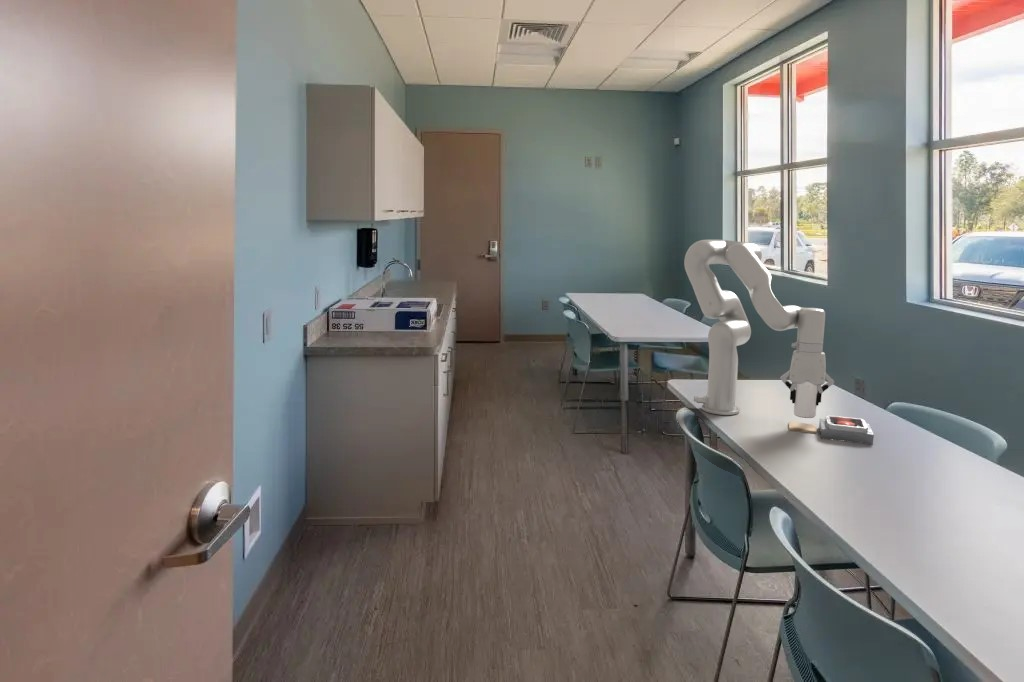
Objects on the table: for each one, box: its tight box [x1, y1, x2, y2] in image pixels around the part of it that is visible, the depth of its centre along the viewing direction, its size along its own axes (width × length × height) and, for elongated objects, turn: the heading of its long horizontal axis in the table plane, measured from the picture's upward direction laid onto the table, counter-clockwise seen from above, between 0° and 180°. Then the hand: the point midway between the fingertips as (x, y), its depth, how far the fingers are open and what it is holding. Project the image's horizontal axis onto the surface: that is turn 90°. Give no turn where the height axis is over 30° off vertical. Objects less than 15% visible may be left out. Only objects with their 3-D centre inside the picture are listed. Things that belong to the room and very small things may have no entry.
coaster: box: [788, 421, 818, 434], centre depth 212 cm, size 8×8×1 cm
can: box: [793, 380, 818, 419], centre depth 210 cm, size 6×6×12 cm
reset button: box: [837, 421, 855, 426], centre depth 204 cm, size 5×5×3 cm
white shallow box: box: [818, 414, 875, 445], centre depth 204 cm, size 14×12×4 cm
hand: (805, 402), depth 210 cm, fingers closed on can, 6 cm apart
